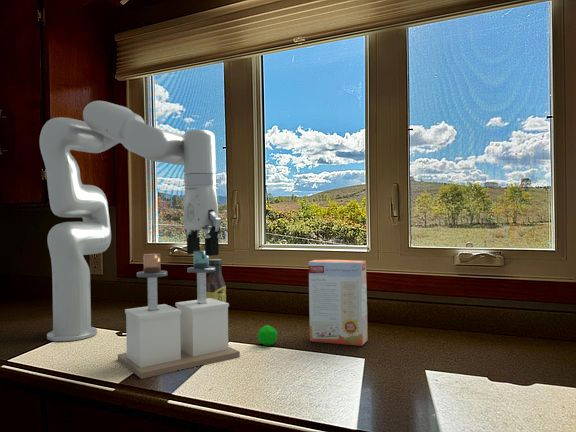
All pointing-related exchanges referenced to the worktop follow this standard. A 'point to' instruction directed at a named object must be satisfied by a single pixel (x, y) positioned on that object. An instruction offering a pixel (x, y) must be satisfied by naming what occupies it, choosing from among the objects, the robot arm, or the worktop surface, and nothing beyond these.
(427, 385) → the worktop surface
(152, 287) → the plunger
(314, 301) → the cracker box
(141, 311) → the press stand
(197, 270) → the plunger
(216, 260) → the sauce bottle
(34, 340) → the worktop surface
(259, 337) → the polyhedron
